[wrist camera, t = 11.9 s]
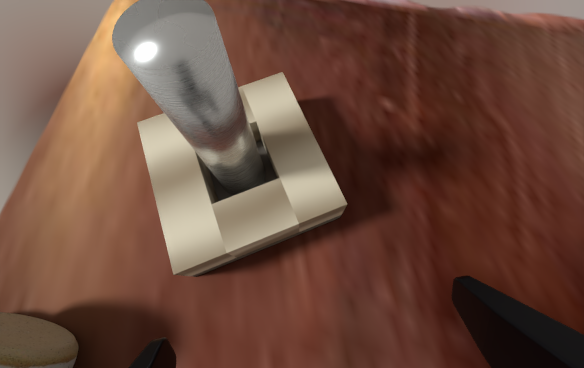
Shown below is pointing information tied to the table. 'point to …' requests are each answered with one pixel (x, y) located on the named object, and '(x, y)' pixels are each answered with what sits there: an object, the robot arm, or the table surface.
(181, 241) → the socket block
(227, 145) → the steel pin
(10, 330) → the ceramic mug
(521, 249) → the table surface
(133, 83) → the table surface
